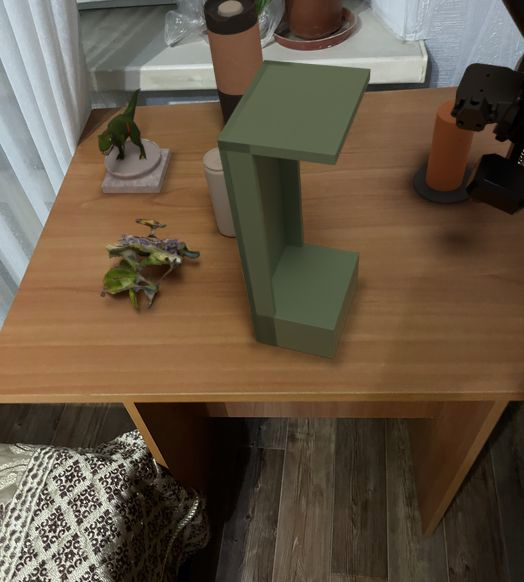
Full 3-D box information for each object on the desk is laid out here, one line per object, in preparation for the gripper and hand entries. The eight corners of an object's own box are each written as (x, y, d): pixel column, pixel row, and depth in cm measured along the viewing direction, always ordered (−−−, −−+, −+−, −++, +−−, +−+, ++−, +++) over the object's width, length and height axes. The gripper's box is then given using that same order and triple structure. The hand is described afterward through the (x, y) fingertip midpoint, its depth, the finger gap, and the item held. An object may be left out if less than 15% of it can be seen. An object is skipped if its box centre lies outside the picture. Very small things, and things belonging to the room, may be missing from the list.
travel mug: (257, 111, 96) (242, -16, 80) (277, 133, 92) (266, 4, 75) (217, 126, 95) (194, 0, 78) (236, 150, 91) (215, 22, 74)
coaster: (472, 161, 83) (472, 159, 83) (480, 203, 78) (481, 200, 78) (410, 164, 84) (411, 162, 84) (415, 205, 79) (415, 202, 79)
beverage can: (255, 218, 81) (244, 148, 71) (244, 241, 79) (231, 172, 69) (224, 213, 83) (210, 143, 73) (213, 236, 80) (196, 167, 70)
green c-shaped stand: (357, 284, 72) (370, 68, 48) (333, 359, 66) (335, 154, 42) (285, 271, 75) (264, 59, 51) (256, 341, 69) (216, 139, 45)
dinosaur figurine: (97, 209, 86) (68, 144, 76) (128, 130, 97) (105, 64, 87) (154, 209, 85) (132, 143, 75) (179, 128, 95) (162, 62, 86)
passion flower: (174, 290, 82) (209, 232, 75) (159, 341, 75) (197, 283, 67) (102, 256, 79) (131, 191, 71) (78, 306, 71) (108, 240, 63)
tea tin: (470, 180, 81) (487, 111, 71) (443, 196, 79) (458, 128, 70) (443, 163, 83) (457, 94, 74) (417, 178, 82) (428, 111, 73)
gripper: (516, -23, 55) (452, 83, 70) (451, 127, 51) (398, 205, 66) (619, 23, 55) (533, 119, 70) (563, 177, 51) (484, 244, 66)
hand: (486, 169), depth 68 cm, fingers open, 9 cm apart
